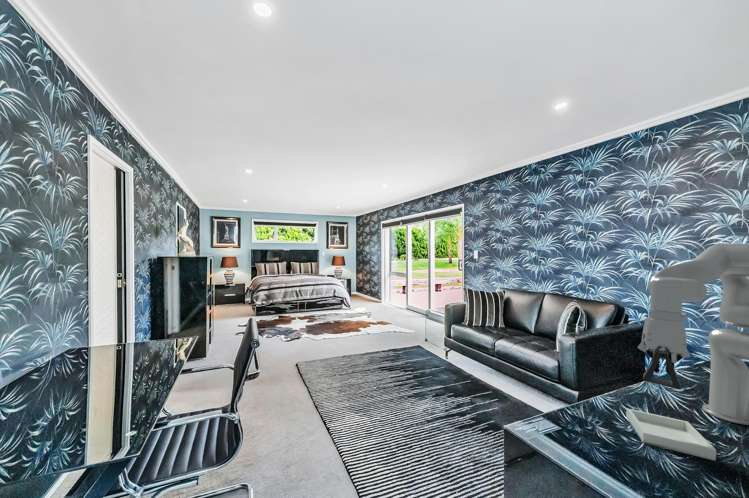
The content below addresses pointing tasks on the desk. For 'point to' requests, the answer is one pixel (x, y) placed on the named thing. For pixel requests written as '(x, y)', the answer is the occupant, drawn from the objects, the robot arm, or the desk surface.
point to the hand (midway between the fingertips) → (662, 372)
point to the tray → (670, 434)
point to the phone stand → (675, 381)
